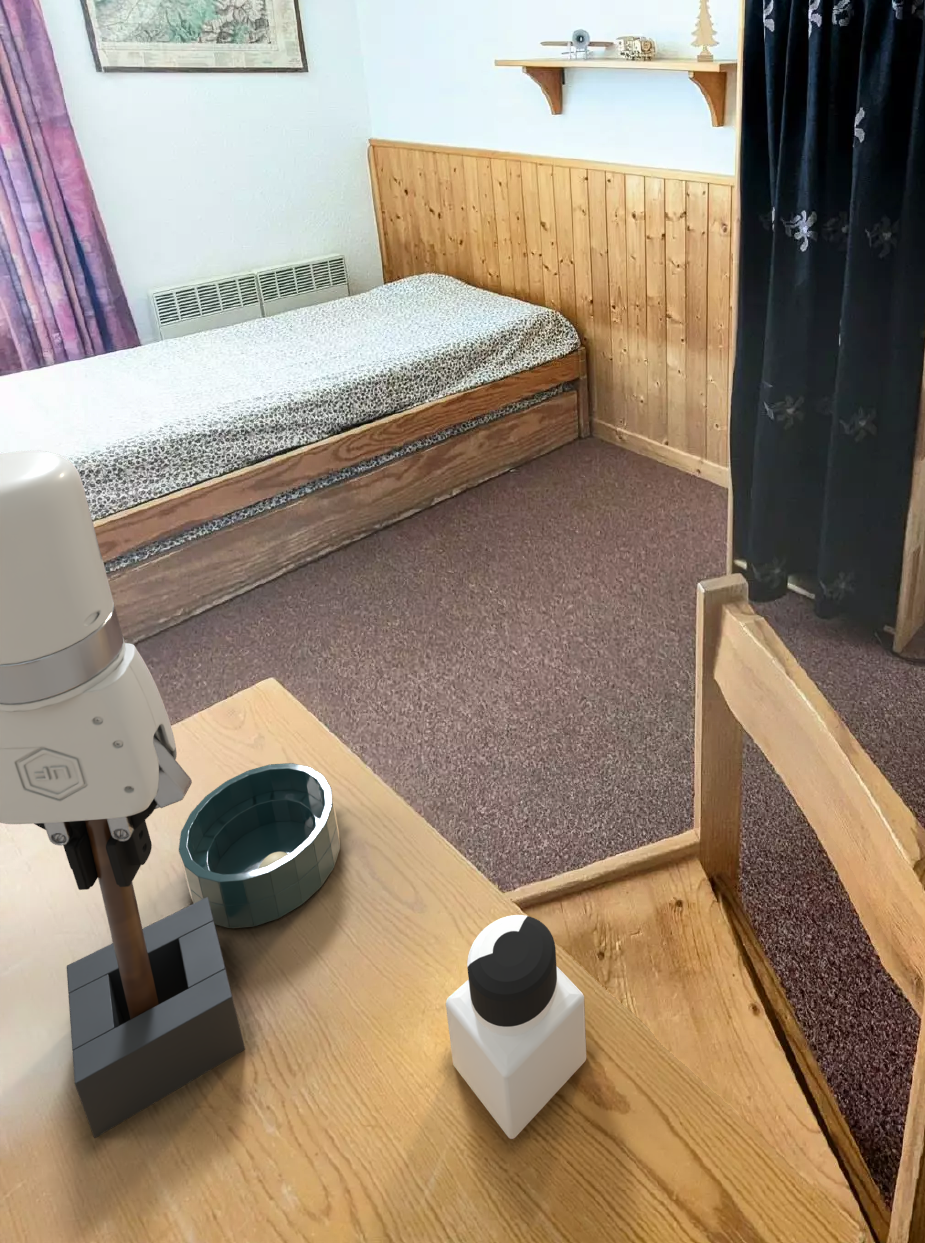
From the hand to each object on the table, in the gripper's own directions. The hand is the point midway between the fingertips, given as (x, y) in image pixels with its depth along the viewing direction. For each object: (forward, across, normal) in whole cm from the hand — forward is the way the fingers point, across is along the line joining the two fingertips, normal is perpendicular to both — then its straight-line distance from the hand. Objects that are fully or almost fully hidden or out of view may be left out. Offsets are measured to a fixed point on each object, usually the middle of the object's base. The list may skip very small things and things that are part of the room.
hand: (115, 868), depth 59 cm
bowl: (+17, +3, +14) cm, 22 cm away
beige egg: (+15, +5, +12) cm, 20 cm away
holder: (+17, 0, 0) cm, 17 cm away
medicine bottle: (+18, +27, -4) cm, 32 cm away
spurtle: (+12, 0, -1) cm, 12 cm away
